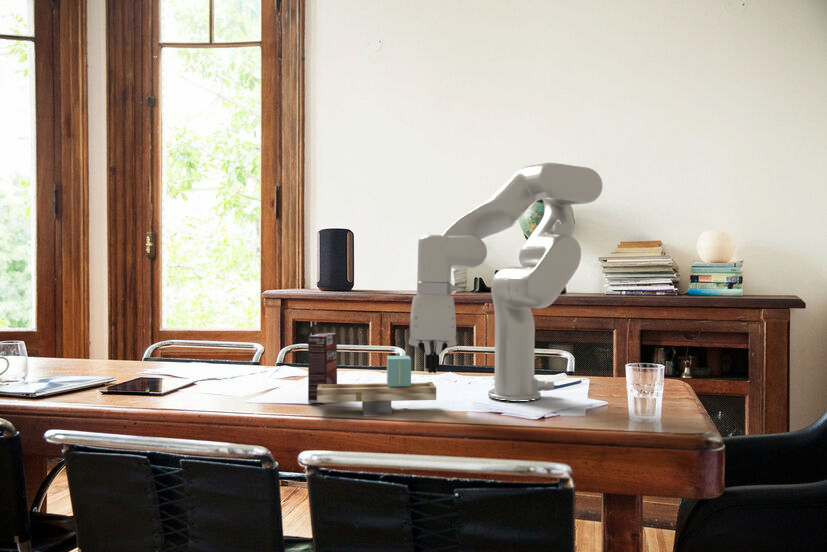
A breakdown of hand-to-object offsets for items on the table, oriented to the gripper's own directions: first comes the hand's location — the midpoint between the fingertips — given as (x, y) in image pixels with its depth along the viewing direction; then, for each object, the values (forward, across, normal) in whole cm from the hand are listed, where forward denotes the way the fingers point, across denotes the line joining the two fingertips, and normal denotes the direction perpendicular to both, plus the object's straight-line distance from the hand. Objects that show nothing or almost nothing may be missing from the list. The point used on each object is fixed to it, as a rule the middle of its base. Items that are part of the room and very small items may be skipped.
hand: (431, 371), depth 157 cm
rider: (+4, +7, 0) cm, 8 cm away
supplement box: (+9, +24, -13) cm, 29 cm away
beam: (+9, +12, 0) cm, 15 cm away
